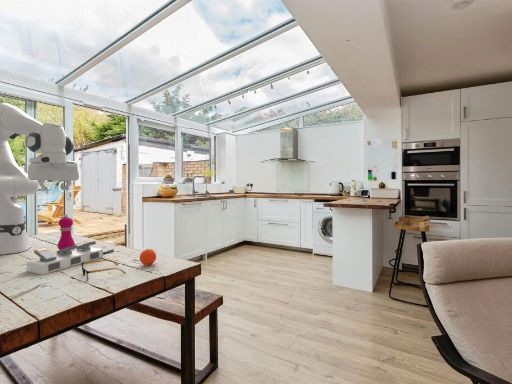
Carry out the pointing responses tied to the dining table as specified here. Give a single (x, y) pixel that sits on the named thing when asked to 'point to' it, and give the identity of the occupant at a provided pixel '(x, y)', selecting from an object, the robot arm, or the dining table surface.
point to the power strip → (65, 260)
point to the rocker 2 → (66, 249)
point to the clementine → (148, 257)
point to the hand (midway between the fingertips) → (55, 190)
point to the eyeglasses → (97, 270)
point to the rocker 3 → (86, 245)
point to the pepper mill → (65, 233)
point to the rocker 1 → (45, 254)
